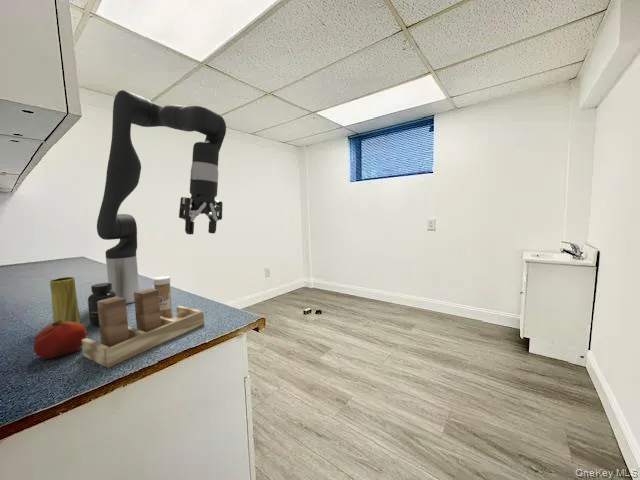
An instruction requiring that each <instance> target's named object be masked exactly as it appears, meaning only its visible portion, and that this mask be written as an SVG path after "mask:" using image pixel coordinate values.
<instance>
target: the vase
mask: <svg viewBox="0 0 640 480" xmlns="http://www.w3.org/2000/svg"><path fill="white" fill-rule="evenodd" d="M49 286H50V294H51V309H52V321H53V322H55V321H57V320H63V321H71V322H76V323H79V324H82V323H81V322H82V320H81V317H80V311H79V304H78V296H77V290H76V281H75V277H73V276H65V277H58V278H53V279H50V280H49ZM53 322H52V323H53Z"/></svg>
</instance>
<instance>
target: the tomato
mask: <svg viewBox="0 0 640 480" xmlns="http://www.w3.org/2000/svg"><path fill="white" fill-rule="evenodd" d="M87 334H88V332H87V330H86V327H85V326H84V325H83V324H82V323H76V322H71V321H63V320H57V321H55V322H52V323H49V324H48V325H46V326H45V327H44V328H43V329H42V330H41V331H39V332H38V333H37V335H36V336H35V338H34V341H33V351H34V353H35V355H36V356H38V357H40V358H47V359H54V358H57V357H60V356H63V355H67V354H71V353H74V352H76V351H78V350H79V349H80V348H82V341H81V340H82V339H85V338H87Z"/></svg>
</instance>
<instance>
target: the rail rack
mask: <svg viewBox="0 0 640 480" xmlns="http://www.w3.org/2000/svg"><path fill="white" fill-rule="evenodd" d="M134 301H135V302H134V311H135V313H134V314H135V322H136V323H135V324H136V325H135V326H136V328H134V327H131V326H129V323H128V322H129V321H128V311H127V304H126V299H125V298H121V297H117V296H116V297H112V298H108V299H104V300H100V301H97V305H98V315H99V325H100V326H99V336H100V342H98V341H95V340H93V339H90V338H87V337H86V338H85V339H82V340H81V341H82V346H81V348H82V349H81V350H82V356H83V357H85V358H87V359H88V360H91V361H93V362H95V363H97V364H99V365H101V366H104V367H106V368H111V367H113V366H115V365H117V364H119V363H122V362H123V361H126V360H128V359H130V358H133V357H135V356H137V355H139V354H141V353H144V352H147V351H148V350H150V349H152V348H154V347H156V346H159V345H161V344H163V343H165V342H168V341H170V340H171V339H174V338H176V337H178V336H181V335H182V334H185V333H188V332H190V331H192V330H194V329H196V328H198V327H200V326H203V325H204V324H205V319H204V318H205V316H204V311H203V310H199V309H196V308H191V307H186V306H183V305H177V306H175V307H176V316H172V318H170V319H169V318H166V317H162V316H160V305H159V292H158V290H157V289H155V288H151V287H148V288H145V289H139V291H136V292H134Z"/></svg>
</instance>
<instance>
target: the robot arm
mask: <svg viewBox="0 0 640 480" xmlns="http://www.w3.org/2000/svg"><path fill="white" fill-rule="evenodd" d="M132 124H133V125H136V126H139V127H143V128H155V127H164V128H169V129H173V130H179V131H183V132H197V133H199V134H202V135H204V136H205V139H204V141H196V142H195V143H194V144H193V148H192V163H191V166H190V167H191V168H190V179H189V193H190V195H191V196H190V197H187V196H186V197H185V196H181V197H180V204H179V211H178V218H180V219H182V220H184V221H185V224H184V226H185V227H184V231H185V233H186V234H187V235H194V232H195V231H194V229H195V222H194V221H195V219H196V218H197V217H198V216H199V215H200V214H201V215H205V216H207V218H208V219H209V221H208V232H207V233H209V234H211V235H213V234H215V233H216V232H217V231H216V230H217V225H218V224H217V222H218V221H220V220H221V221H222V219H223V201H220V200H215V198H216V197H217V196H218V185H219V157H220V151H221V148H222V145H223V142H224V139H225V136H226V134H227V124H226V120H225V119H224V118H223V116H222V115H220V114H219V113H216V112H215V111H213V110H211V109H209V108H207V107H205V106H202V105H199V104H192V105H187V106H186V105H179V104H166V105H165V106H163V105H159V104H157V103H155V102H153V101H151V100H149V99H147V98H145V97H143V96H141V95H138V94H136V93H133V92H130V91H127V90H124V89H122V90H119V91H118V92H117V93H116V94H115V96H114V99H113V107H112V127H111V128H112V130H111V142H110V143H111V144H110V148H109V149H110V150H109V155H108V156H109V157H108V162H107V167H106V177H105V187H104V191H103V196H102V200H101V201H102V202H101V205H100V209H99V212H98V217H97V221H96V231H97V235H98V237H99V238H100V239H102V240H108V241H109V240H110V241H111V240H119V241H118V243H117V244H116V245H115V246H114V245H113V247H110V248H108V249H107V250H106V251H105V263H106V272H107V283H111V284H112V290H111V291H113V292H115V293H116V295H117V297H121V298H125V299H126V305H127V304H131V303H135V301H134V292H136V291H140V284H139V283H140V281H139V272H138V260H137V259H138V258H137V250H138V225H137V221H136V219H135V217H134V216H133V215H131V214H128V213H118V212H119V209H120V207H121V205H122V204H123V202H124V201H125V200H126V199H127V198H128V197H129V196H130V195H131V194H132V193H133V191H134V190H135V189H136V188H137V186H138V185H139V182H140V177H141V173H142V172H141V171H142V163H141V160H140V157H139V155H138V153H137V150H136V149H135V147H134V145H133V142H132V138H131V137H132V135H131V131H132V130H131V128H132Z"/></svg>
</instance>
